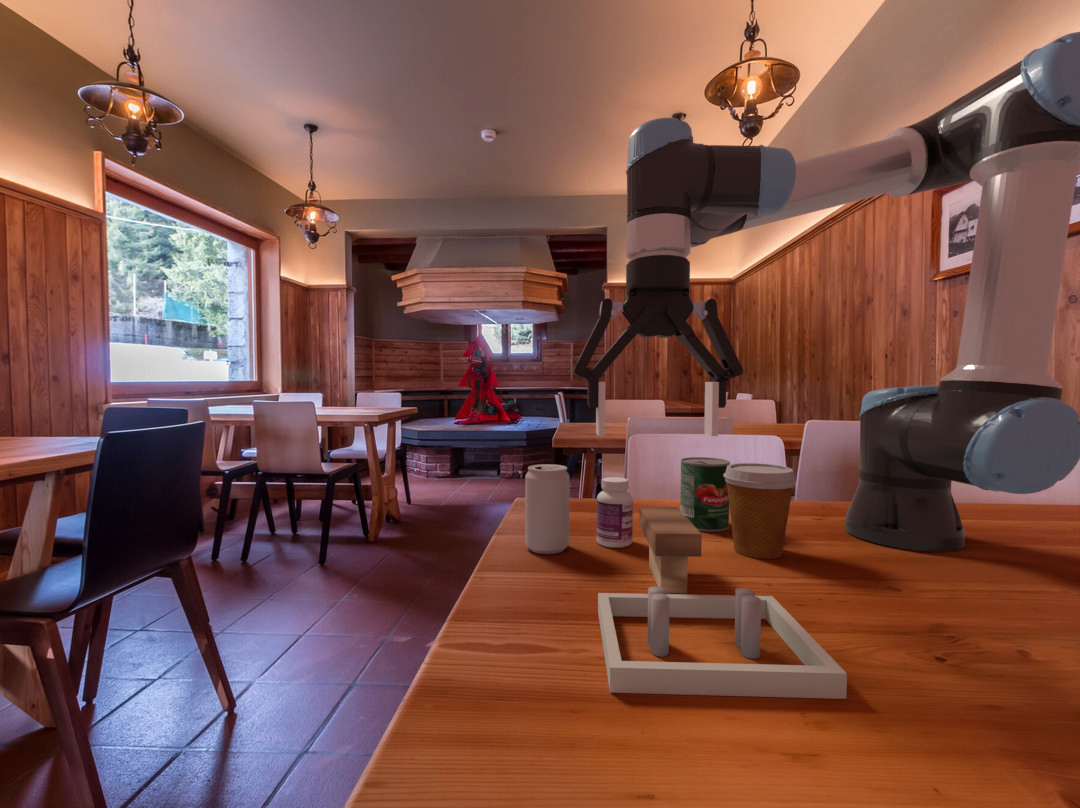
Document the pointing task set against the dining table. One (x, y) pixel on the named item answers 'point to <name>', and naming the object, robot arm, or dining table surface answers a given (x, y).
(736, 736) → the dining table surface
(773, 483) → the disposable coffee cup
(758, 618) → the peg frame
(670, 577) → the stand block
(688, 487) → the canned tomato
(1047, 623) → the dining table surface
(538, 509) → the beverage can
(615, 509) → the pill bottle
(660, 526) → the board
